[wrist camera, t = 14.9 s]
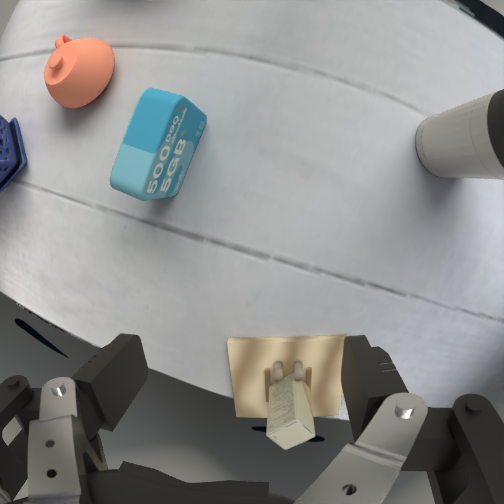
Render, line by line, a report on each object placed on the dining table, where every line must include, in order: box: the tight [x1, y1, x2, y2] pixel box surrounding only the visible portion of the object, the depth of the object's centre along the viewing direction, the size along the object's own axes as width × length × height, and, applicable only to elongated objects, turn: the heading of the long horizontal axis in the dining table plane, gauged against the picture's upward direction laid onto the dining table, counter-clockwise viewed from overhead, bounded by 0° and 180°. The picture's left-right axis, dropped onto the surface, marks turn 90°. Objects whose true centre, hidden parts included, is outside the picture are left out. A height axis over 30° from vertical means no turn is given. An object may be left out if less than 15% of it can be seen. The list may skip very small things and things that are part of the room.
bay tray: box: [227, 334, 347, 418], centre depth 42 cm, size 18×16×5 cm
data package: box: [110, 88, 206, 201], centre depth 33 cm, size 12×4×12 cm, turn 157°
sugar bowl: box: [44, 35, 115, 108], centre depth 32 cm, size 12×14×10 cm
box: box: [266, 373, 315, 450], centre depth 37 cm, size 5×4×11 cm
